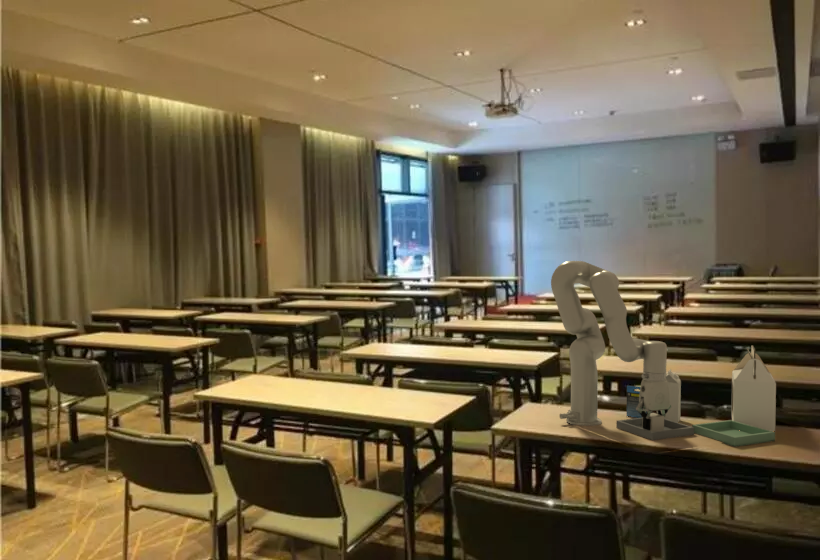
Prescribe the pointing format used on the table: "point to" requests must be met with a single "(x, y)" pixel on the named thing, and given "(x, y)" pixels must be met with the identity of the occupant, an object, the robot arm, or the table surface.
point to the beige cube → (656, 422)
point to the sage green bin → (734, 433)
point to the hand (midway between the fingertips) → (653, 428)
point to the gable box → (753, 393)
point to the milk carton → (674, 397)
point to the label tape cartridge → (633, 401)
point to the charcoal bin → (669, 431)
